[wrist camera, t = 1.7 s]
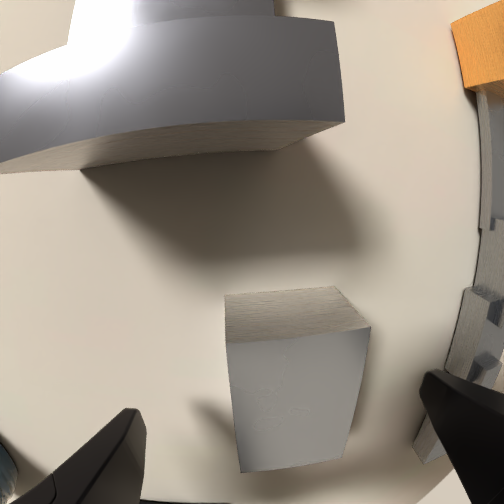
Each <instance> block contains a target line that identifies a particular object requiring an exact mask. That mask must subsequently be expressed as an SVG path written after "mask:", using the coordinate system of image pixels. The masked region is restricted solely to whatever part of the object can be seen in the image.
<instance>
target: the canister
mask: <svg viewBox="0 0 504 504" xmlns="http://www.w3.org/2000/svg"><path fill="white" fill-rule="evenodd" d="M17 476H18V472H17V469H16V467H15V465H14V463H13V461H12V459H11V457H10V456H9V454H8V453H7V452H6V450H5V449H4V447H3V446H2V445H1V443H0V504H6V503H7V501H8V500H9V499H10V498H11V497H12V495H13V492H14V490H15V488H16V479H17Z"/></svg>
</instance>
